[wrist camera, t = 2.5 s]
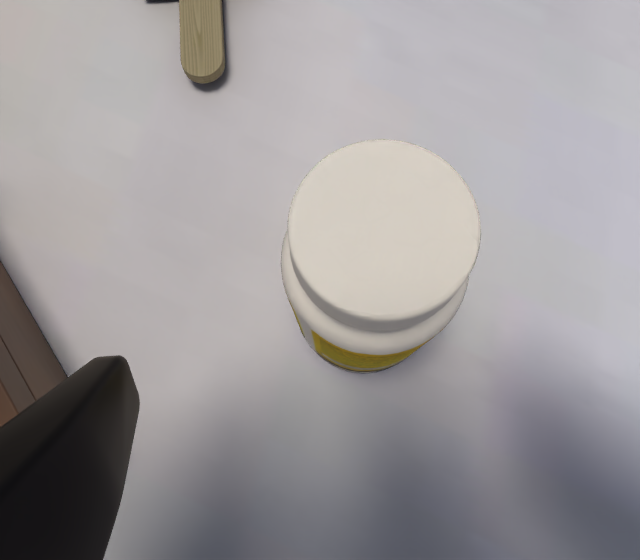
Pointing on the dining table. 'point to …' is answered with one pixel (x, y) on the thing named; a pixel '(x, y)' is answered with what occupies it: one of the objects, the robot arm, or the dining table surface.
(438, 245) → the supplement bottle
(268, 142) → the dining table surface
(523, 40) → the dining table surface
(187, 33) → the ice cream bar
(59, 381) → the shelf
